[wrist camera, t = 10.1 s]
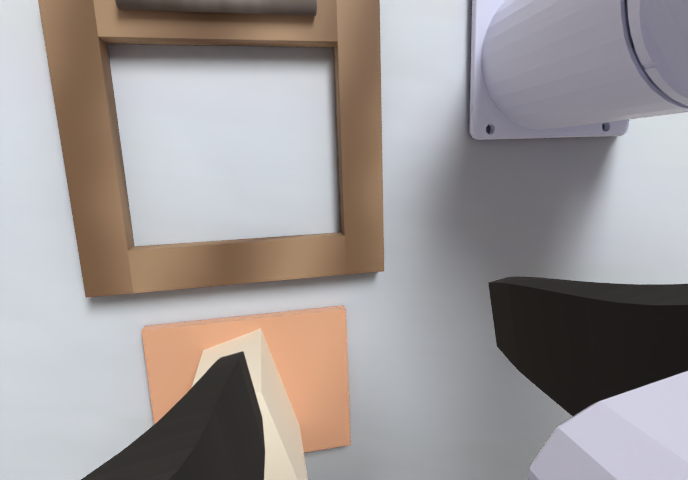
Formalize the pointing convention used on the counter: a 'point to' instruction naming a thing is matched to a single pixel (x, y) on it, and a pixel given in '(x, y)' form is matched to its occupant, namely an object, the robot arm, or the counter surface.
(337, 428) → the peach rectangular tile
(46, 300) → the counter surface
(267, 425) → the cream upright block
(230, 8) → the wooden picture frame
